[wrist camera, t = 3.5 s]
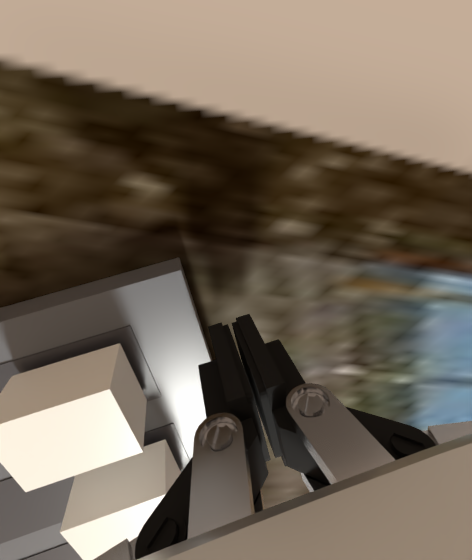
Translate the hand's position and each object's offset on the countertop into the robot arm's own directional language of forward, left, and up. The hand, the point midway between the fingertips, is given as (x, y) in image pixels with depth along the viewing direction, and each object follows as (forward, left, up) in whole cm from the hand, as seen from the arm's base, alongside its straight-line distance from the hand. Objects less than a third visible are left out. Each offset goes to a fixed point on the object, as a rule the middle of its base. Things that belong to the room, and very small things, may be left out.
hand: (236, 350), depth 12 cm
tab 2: (+6, +6, -1) cm, 8 cm away
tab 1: (+6, 0, -1) cm, 6 cm away
